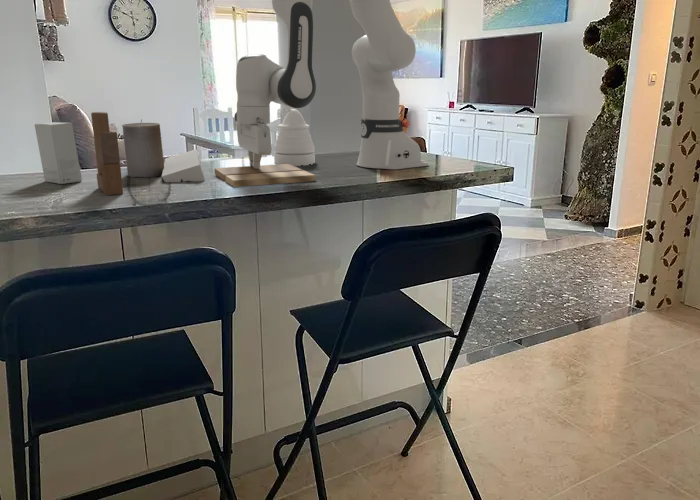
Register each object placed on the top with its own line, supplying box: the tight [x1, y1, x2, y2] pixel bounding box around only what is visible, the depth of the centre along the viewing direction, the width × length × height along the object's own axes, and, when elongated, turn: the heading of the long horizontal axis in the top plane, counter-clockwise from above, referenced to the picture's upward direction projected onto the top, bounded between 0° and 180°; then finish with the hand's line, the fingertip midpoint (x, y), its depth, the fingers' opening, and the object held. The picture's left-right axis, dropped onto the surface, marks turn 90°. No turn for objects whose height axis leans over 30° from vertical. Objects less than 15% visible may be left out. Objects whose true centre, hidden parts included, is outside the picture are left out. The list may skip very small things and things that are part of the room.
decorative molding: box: [161, 148, 206, 183], centre depth 166 cm, size 34×5×10 cm
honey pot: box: [273, 105, 316, 167], centre depth 182 cm, size 13×13×18 cm
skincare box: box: [34, 121, 83, 185], centre depth 146 cm, size 8×6×15 cm
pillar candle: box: [121, 119, 165, 178], centre depth 157 cm, size 10×10×15 cm
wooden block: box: [90, 111, 124, 196], centre depth 134 cm, size 4×11×18 cm, turn 33°
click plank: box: [214, 164, 303, 182], centre depth 160 cm, size 22×10×2 cm, turn 116°
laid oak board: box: [225, 170, 317, 188], centre depth 151 cm, size 22×8×2 cm, turn 116°
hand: (254, 167), depth 161 cm, fingers closed
